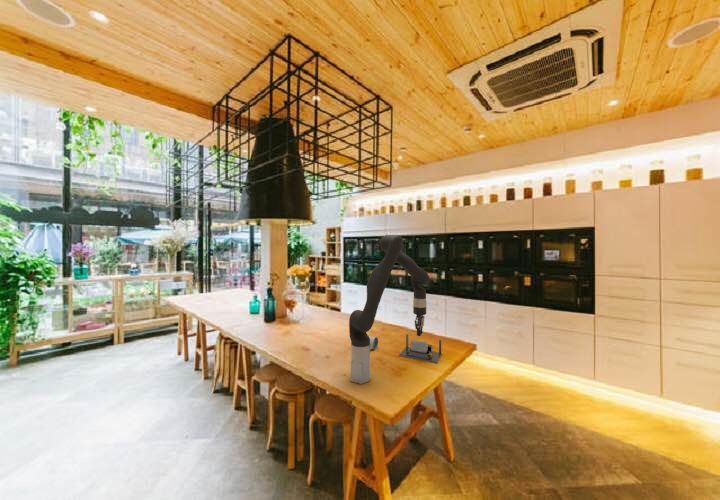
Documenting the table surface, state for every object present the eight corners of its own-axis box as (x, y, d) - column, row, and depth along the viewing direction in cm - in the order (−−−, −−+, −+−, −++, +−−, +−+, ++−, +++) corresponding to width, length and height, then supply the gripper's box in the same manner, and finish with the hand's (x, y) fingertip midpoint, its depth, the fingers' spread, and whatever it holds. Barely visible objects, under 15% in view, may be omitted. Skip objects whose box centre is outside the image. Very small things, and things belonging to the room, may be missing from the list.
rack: (437, 363, 148) (437, 347, 148) (399, 356, 158) (399, 340, 158) (441, 354, 161) (441, 339, 161) (406, 348, 171) (406, 334, 171)
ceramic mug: (367, 344, 176) (367, 333, 176) (378, 347, 172) (378, 335, 172) (359, 350, 167) (359, 338, 167) (371, 353, 163) (371, 340, 163)
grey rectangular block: (426, 358, 153) (426, 344, 153) (411, 355, 157) (411, 341, 157) (427, 356, 156) (427, 342, 156) (412, 353, 160) (412, 340, 160)
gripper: (423, 308, 149) (423, 339, 149) (428, 304, 161) (428, 332, 161) (410, 307, 152) (409, 337, 152) (416, 302, 165) (416, 330, 165)
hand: (419, 334), depth 157 cm, fingers open, 3 cm apart
